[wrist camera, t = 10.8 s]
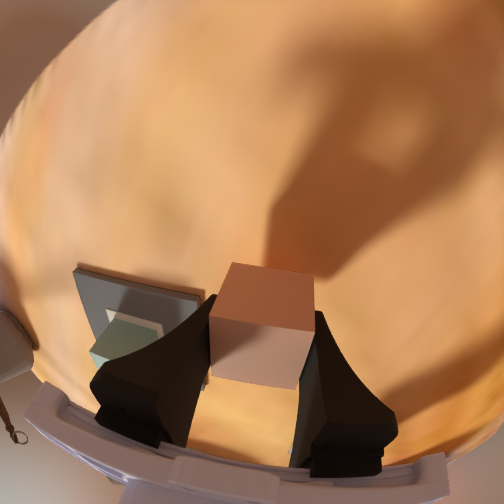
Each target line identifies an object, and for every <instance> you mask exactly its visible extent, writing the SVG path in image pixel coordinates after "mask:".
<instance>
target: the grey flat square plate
mask: <svg viewBox="0 0 504 504" xmlns="http://www.w3.org/2000/svg"><path fill="white" fill-rule="evenodd" d="M73 276H74V279H75V283H76V286H77V289H78V292H79V295H80V298H81V301H82V304H83V307H84V310H85V313H86V316H87V318H88V321H89V324H90V326H91V329H92V331H93V334H94V336H95V339H96V341H97V340H98V338H99V337H100V336H101V334H102V333H103V332H104V330H105V329H106V328H107V326H108V325H109V324H110V322H111V321H112V320H113V318H116V319H119V320H123V321H126V322H129V323H133V324H136V325H139V326H143V327H146V328H150V329H154V330H156V331H157V336H158V339H160V338H161V337H163V336H164V335H166V334H167V333H169V332H170V331H172V330H173V329H174V328H176V327H177V326H178V325H179V324H181V323H182V322H183V321H184V320H186V319H187V318H188V317H189V316H190V315H191V314H192V313H194V312H195V311H196V310H197V309H198V308H199V307H200V296H195V295H190V294H185V293H180V292H175V291H170V290H166V289H161V288H157V287H152V286H147V285H143V284H139V283H134V282H130V281H126V280H122V279H117V278H113V277H109V276H105V275H101V274H97V273H93V272H90V271H86V270H82V269H78V268H76V269H75V270H74V271H73ZM204 389H205V379H204V382H203V385H202V388H201V390H202V391H204Z"/></svg>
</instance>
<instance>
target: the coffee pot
mask: <svg viewBox="0 0 504 504" xmlns="http://www.w3.org/2000/svg"><path fill="white" fill-rule="evenodd" d="M32 348H33V345H32V343H31V340H30V338H29V337H28V335H27V334H26V332H25V331H24V329H23V328H22V327H21V325H20V324H19V323H18V322H17V321H16V319H15V318H14V317H13V316H12V315H10V314H9V313H8V312H6V311H4V310H3V311H0V383H2V382H4V381H7V380H9V379H11V378H13V377H15V376H17V375H20V374H22V373H24V372H26V371H28V370H30V369H31V368H32V366H33V362H34V356H33V351H32ZM0 416H1V418H2V420H3V421H4V423H5V425H6V427H5V428H6V430H7V431H8V432H9V433H10V437H11V438H12V440H13V441H14V442H15V443H19V444H26V443H27V442H28V437H27V441H26V442H24V443H20V442H18V438H17V436H16V434H15V433H17V432H19V433H23V432H21V431H15V432H14V427H13V425H11V422H10V419H9V415H8V412H7V411H6V408H5V406H4V404H3V402H2V400H1V398H0ZM23 434H25V433H23Z"/></svg>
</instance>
